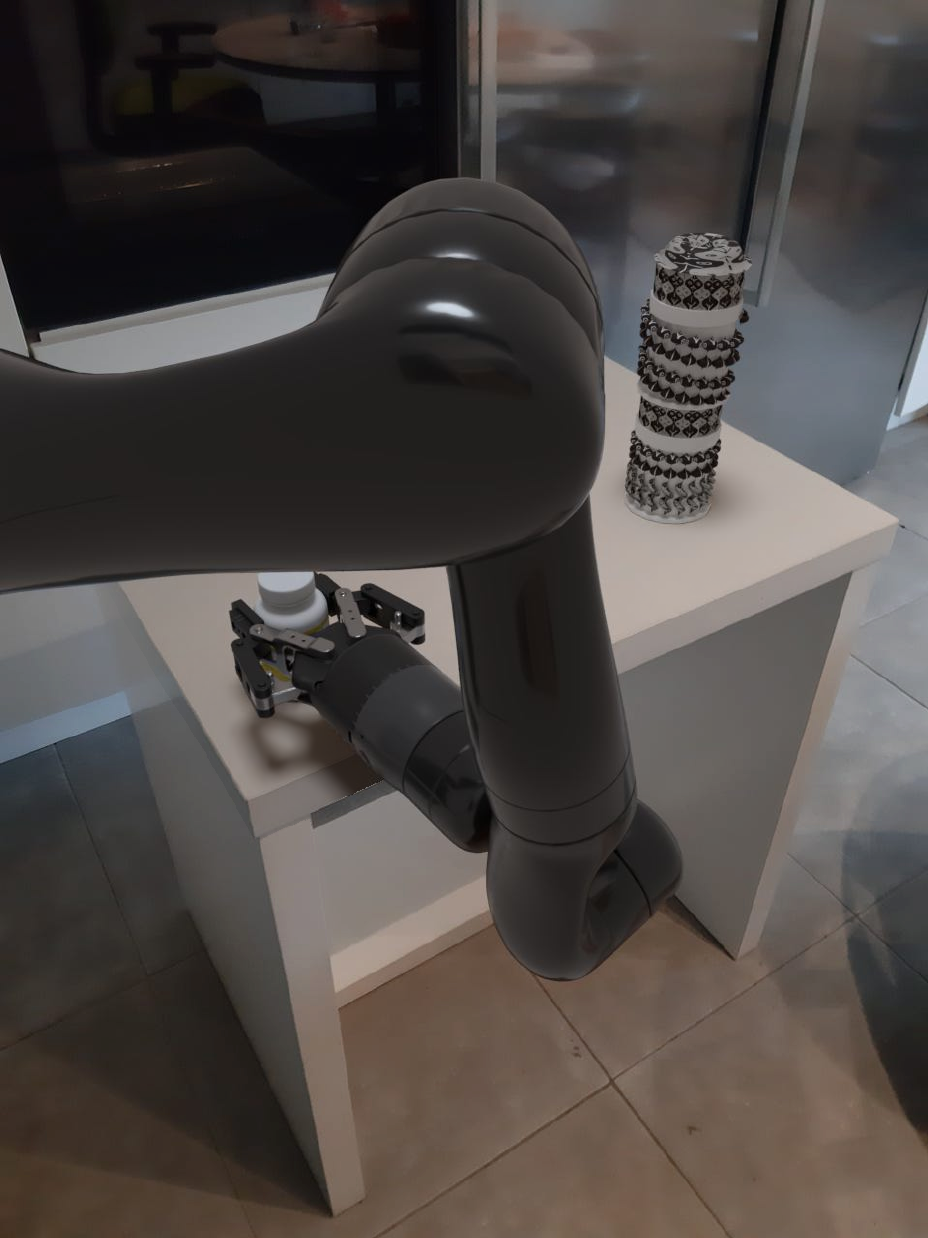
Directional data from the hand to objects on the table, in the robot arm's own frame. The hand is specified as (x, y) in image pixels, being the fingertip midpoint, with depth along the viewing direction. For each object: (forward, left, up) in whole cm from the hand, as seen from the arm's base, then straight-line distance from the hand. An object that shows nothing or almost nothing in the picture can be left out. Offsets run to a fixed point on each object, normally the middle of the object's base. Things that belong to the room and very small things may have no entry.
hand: (273, 596), depth 73 cm
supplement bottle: (-1, -2, -7) cm, 7 cm away
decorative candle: (+37, -21, -7) cm, 43 cm away
